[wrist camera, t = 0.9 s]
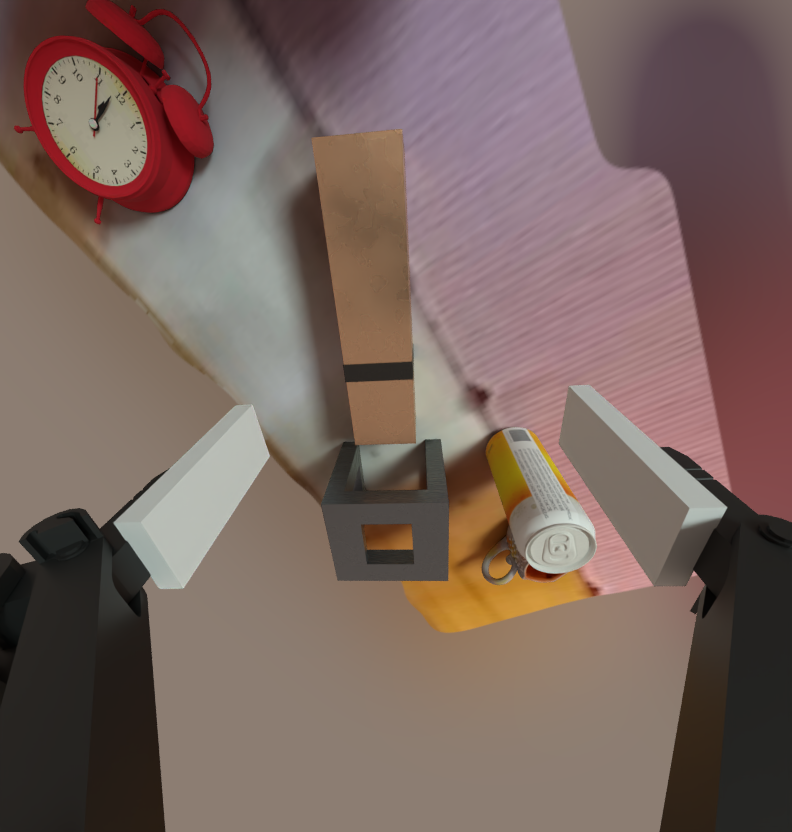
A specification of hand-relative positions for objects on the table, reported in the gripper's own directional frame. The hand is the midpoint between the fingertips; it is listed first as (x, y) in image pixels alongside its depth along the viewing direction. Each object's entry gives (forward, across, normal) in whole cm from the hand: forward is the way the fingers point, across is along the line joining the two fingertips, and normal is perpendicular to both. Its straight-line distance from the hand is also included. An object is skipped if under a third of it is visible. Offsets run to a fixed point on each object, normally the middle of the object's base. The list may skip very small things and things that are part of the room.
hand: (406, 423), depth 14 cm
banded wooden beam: (+21, -3, +1) cm, 21 cm away
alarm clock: (+22, -21, +17) cm, 34 cm away
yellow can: (+21, +11, -16) cm, 28 cm away
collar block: (+20, -4, -20) cm, 29 cm away
